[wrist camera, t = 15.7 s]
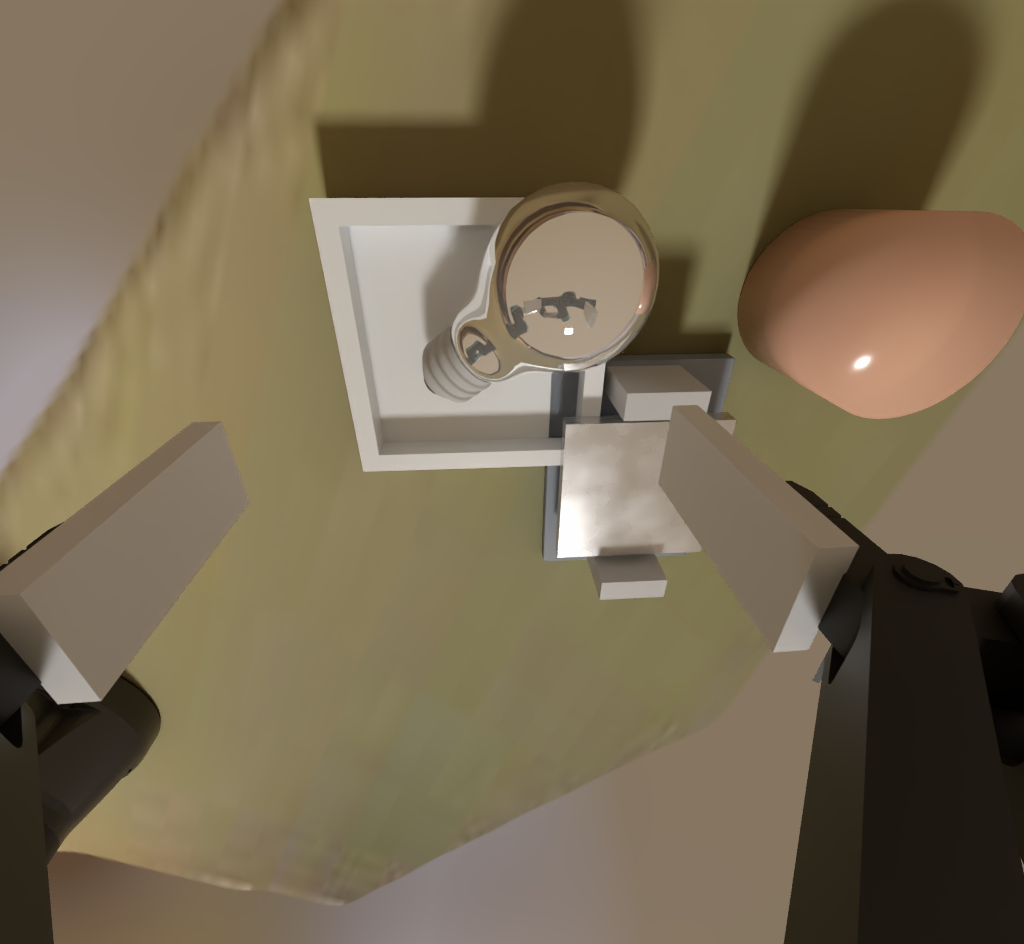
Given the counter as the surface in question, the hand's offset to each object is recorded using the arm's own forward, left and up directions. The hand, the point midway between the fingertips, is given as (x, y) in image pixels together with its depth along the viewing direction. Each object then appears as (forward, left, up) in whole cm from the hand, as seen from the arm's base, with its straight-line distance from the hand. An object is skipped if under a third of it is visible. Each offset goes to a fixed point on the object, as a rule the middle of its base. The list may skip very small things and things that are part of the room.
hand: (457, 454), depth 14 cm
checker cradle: (+9, -8, -12) cm, 17 cm away
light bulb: (-2, -1, -10) cm, 10 cm away
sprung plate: (+9, -8, -10) cm, 16 cm away
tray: (0, 0, -12) cm, 12 cm away
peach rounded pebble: (+18, +2, -12) cm, 22 cm away
